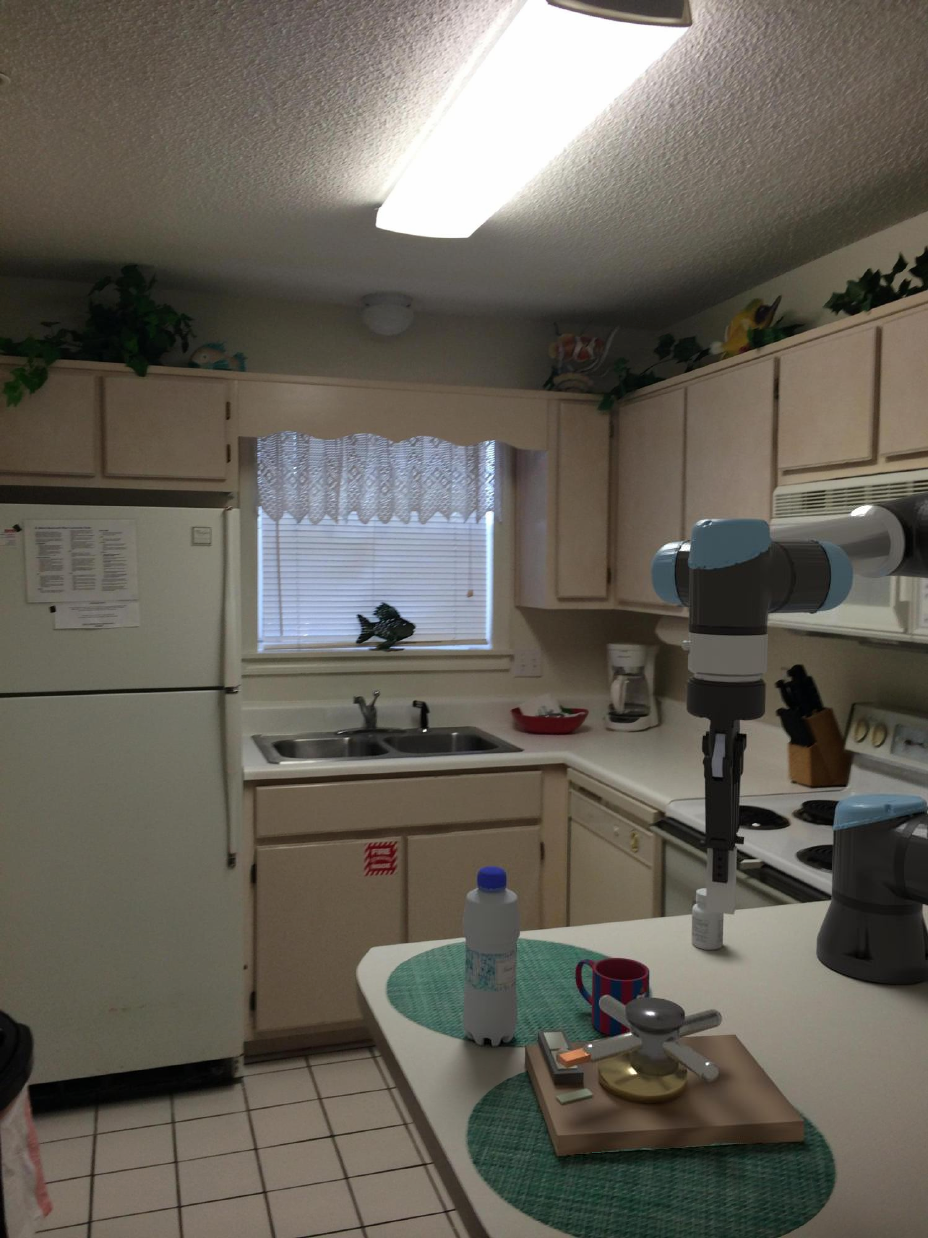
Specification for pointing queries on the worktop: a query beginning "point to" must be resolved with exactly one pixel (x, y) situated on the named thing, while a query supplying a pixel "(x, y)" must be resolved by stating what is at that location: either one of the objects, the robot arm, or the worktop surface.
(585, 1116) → the stand
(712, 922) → the pill bottle
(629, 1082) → the capstan
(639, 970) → the mug
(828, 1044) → the worktop surface
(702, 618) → the robot arm
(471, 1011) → the bottle
